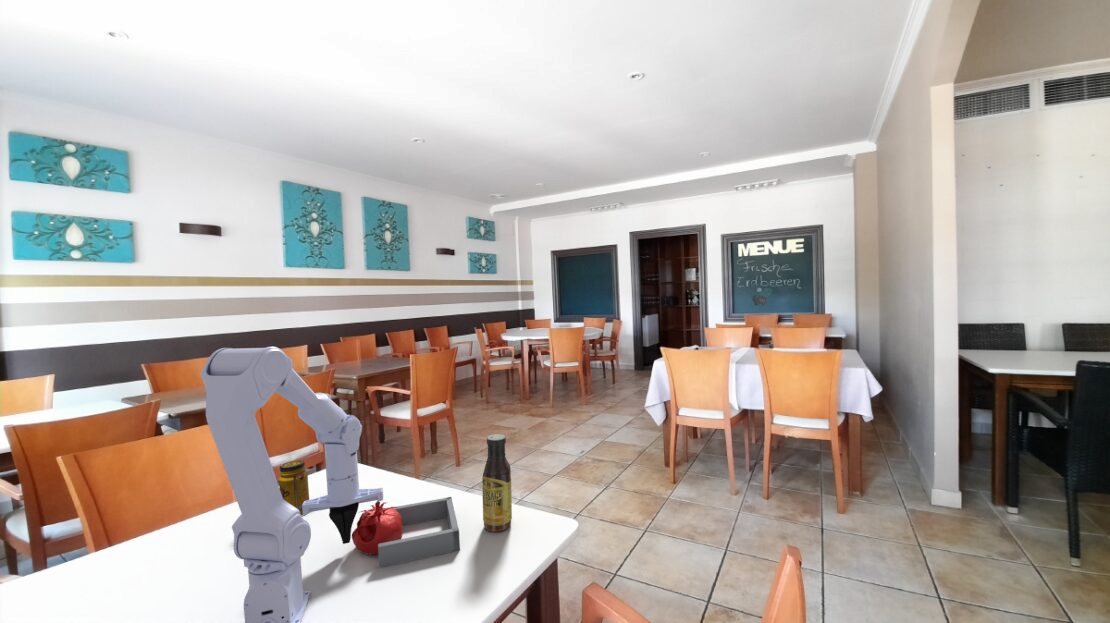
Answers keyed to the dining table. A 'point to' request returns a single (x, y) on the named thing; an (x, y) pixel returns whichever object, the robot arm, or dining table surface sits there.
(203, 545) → the dining table surface
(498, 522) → the sauce bottle
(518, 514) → the dining table surface
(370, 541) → the pomegranate
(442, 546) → the tray
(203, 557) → the dining table surface
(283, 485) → the condiment
